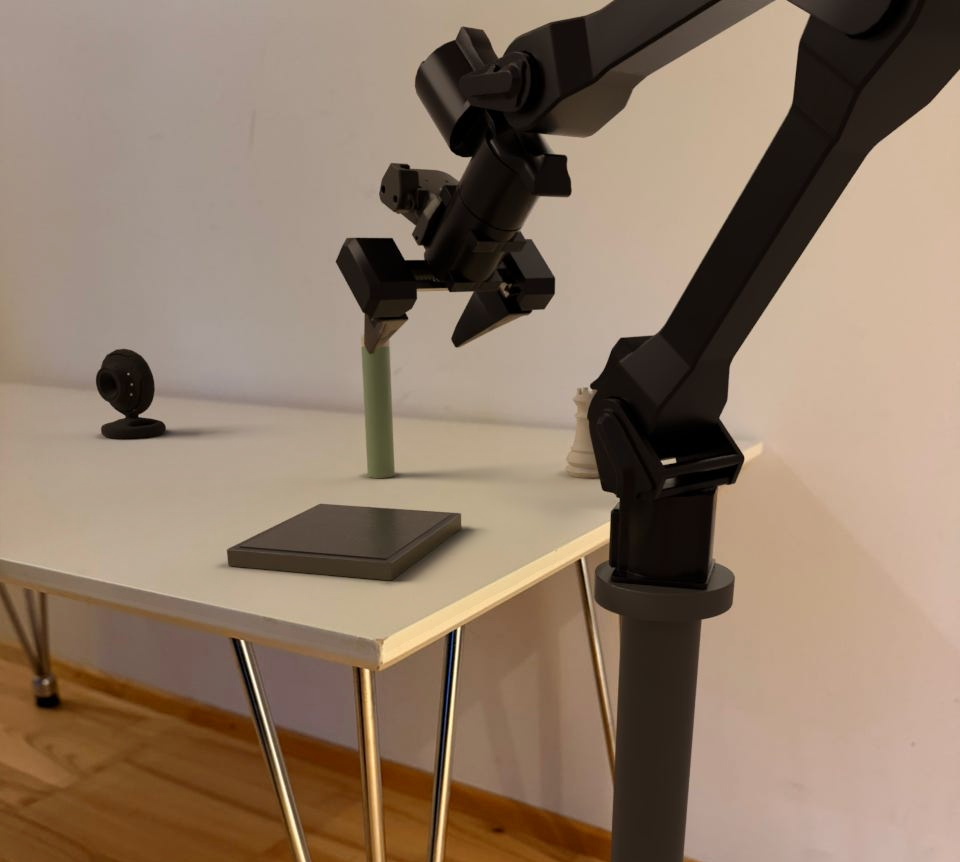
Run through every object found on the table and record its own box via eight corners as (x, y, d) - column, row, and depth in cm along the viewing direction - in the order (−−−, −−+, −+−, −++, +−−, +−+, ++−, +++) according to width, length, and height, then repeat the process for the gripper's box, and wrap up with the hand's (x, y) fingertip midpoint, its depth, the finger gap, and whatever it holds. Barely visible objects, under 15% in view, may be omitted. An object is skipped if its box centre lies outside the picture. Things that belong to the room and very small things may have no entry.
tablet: (461, 528, 76) (461, 512, 75) (391, 581, 63) (390, 562, 63) (320, 518, 79) (319, 502, 79) (228, 566, 67) (226, 548, 66)
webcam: (87, 436, 118) (74, 350, 115) (135, 427, 124) (124, 345, 121) (132, 441, 115) (120, 352, 111) (180, 432, 121) (170, 347, 117)
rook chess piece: (605, 468, 97) (608, 385, 94) (616, 477, 93) (619, 391, 90) (560, 470, 96) (562, 386, 94) (569, 479, 92) (571, 392, 89)
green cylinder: (398, 473, 96) (393, 334, 91) (388, 478, 93) (382, 336, 89) (374, 472, 96) (367, 333, 92) (363, 477, 94) (356, 335, 89)
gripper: (535, 134, 81) (457, 275, 93) (341, 116, 71) (280, 278, 83) (599, 234, 78) (510, 366, 91) (407, 232, 68) (334, 382, 80)
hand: (412, 346), depth 86 cm, fingers open, 9 cm apart
